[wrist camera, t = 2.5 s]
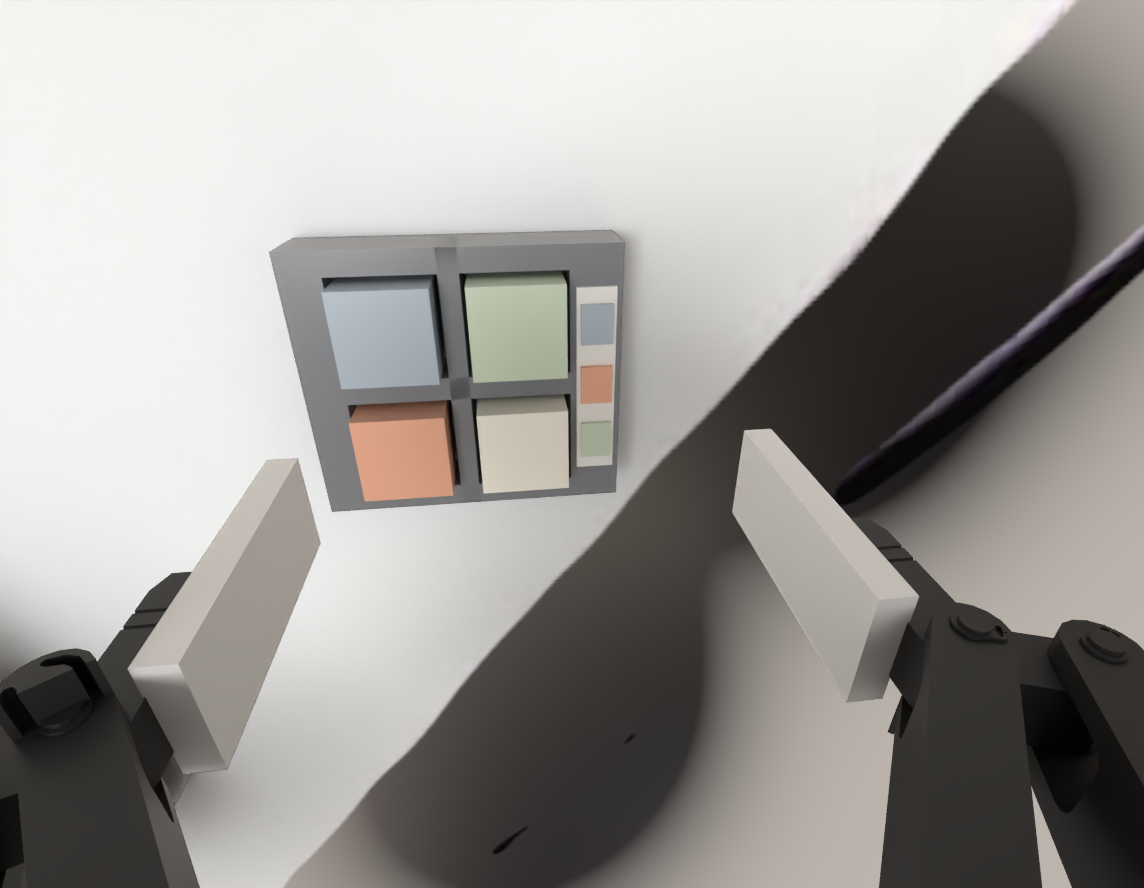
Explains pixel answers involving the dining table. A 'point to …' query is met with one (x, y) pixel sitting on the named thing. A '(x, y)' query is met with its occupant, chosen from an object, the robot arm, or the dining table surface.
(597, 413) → the keypad
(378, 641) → the dining table surface
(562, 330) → the key sage
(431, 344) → the key slate
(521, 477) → the key cream
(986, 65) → the dining table surface
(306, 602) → the dining table surface
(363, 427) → the key terracotta
